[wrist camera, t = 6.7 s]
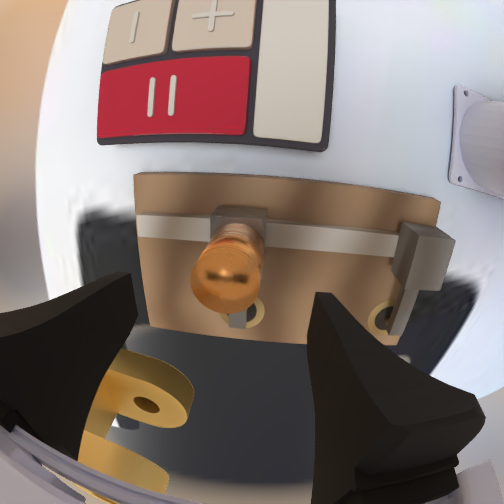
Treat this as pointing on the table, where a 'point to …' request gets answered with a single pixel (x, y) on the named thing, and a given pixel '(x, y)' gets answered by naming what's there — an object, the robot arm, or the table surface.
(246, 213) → the slider leg
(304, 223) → the board
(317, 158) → the table surface
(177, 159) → the table surface
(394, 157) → the table surface
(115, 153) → the table surface
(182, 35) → the button panel
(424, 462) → the robot arm
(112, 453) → the yellow clevis bracket
